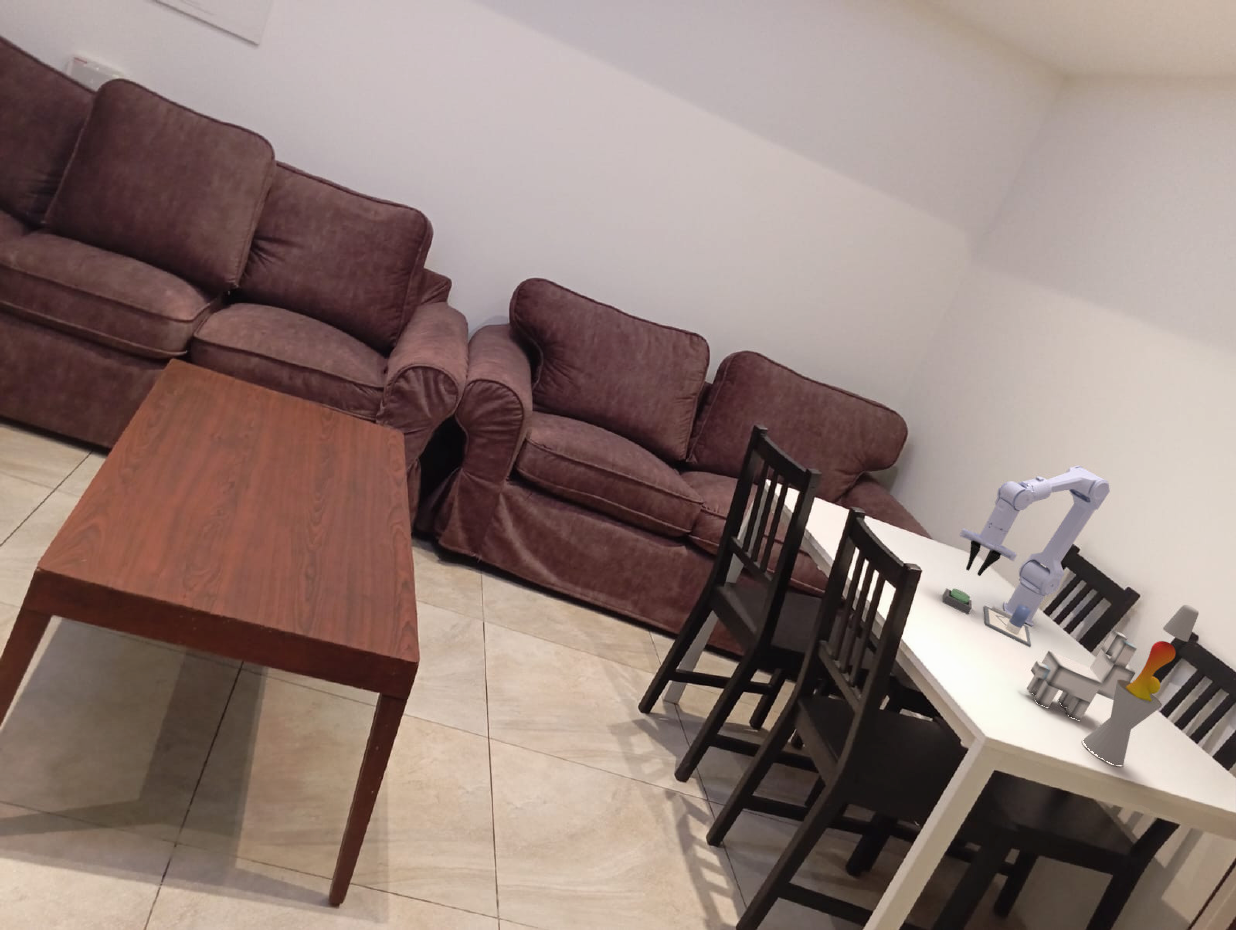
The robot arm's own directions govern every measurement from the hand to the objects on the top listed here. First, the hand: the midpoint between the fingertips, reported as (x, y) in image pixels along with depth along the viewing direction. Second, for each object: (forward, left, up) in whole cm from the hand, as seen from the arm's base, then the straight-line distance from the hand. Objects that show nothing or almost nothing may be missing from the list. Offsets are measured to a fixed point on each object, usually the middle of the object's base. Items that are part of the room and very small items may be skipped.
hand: (973, 572), depth 266 cm
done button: (0, 0, -9) cm, 9 cm away
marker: (+2, +15, -9) cm, 18 cm away
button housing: (0, 0, -10) cm, 10 cm away
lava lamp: (+56, +32, -10) cm, 65 cm away
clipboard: (-2, +14, -10) cm, 17 cm away
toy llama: (+40, +24, -10) cm, 48 cm away
